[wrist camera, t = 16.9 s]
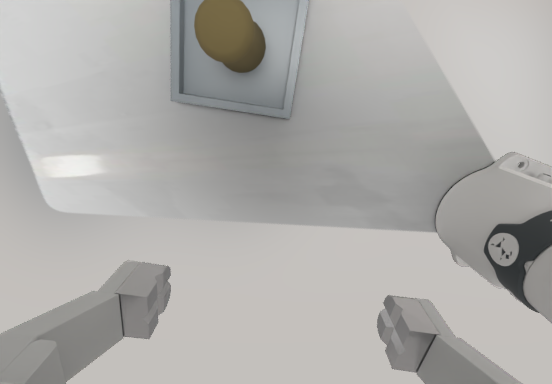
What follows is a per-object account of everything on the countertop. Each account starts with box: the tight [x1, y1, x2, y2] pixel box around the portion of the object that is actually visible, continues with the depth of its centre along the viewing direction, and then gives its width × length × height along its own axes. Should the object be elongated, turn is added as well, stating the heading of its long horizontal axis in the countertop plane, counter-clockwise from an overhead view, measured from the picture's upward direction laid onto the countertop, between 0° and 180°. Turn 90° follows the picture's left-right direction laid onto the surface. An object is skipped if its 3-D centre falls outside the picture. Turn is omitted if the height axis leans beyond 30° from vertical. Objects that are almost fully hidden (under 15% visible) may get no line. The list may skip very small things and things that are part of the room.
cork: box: [194, 0, 266, 73], centre depth 27 cm, size 6×6×11 cm
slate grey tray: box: [170, 0, 309, 119], centre depth 31 cm, size 15×15×2 cm
